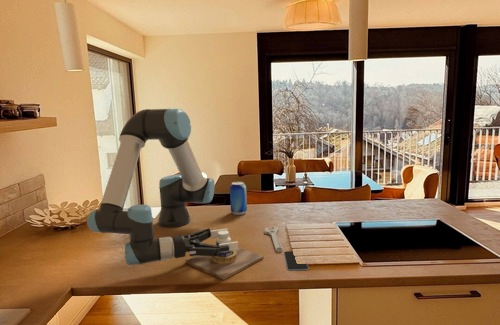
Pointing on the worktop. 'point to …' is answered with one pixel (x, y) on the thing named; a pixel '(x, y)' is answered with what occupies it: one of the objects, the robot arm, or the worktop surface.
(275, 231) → the adjustable wrench
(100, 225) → the robot arm
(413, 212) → the worktop surface
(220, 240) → the pill bottle
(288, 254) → the smartphone
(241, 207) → the beer can
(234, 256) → the socket plate
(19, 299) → the worktop surface
